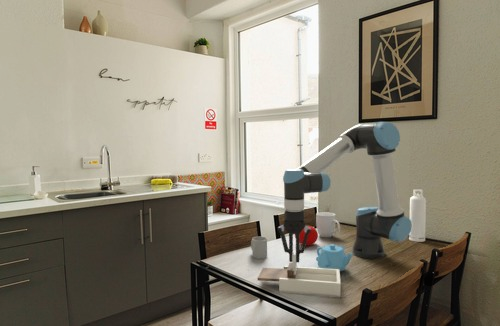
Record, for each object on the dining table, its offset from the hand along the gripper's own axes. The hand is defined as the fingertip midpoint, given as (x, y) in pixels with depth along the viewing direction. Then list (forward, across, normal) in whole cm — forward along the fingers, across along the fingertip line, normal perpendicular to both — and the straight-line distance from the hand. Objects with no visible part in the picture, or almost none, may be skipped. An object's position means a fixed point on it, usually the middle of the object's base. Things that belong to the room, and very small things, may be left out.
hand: (294, 270), depth 135 cm
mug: (+6, -12, -73) cm, 74 cm away
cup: (+7, +21, -32) cm, 39 cm away
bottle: (+6, -61, -75) cm, 97 cm away
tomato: (+7, -1, -55) cm, 55 cm away
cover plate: (+3, +6, 0) cm, 7 cm away
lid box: (+6, -6, 0) cm, 9 cm away
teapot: (+7, -15, -19) cm, 25 cm away
